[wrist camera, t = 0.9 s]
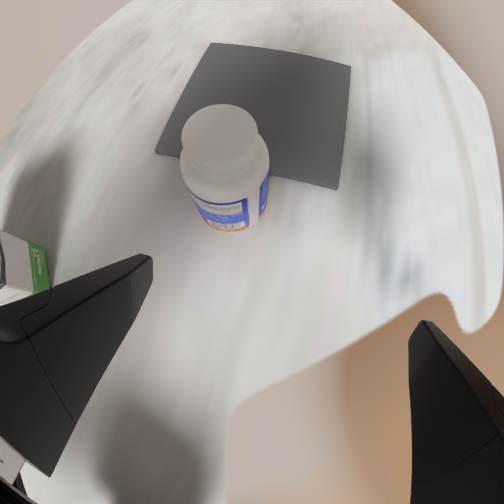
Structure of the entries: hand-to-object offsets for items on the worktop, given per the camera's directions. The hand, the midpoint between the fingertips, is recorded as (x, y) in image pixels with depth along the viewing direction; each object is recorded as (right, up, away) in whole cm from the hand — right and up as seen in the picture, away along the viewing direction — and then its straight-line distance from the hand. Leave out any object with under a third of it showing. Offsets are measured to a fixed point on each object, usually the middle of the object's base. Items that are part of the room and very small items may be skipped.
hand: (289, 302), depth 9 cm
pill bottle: (-3, +5, +15) cm, 16 cm away
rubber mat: (0, +16, +17) cm, 24 cm away
